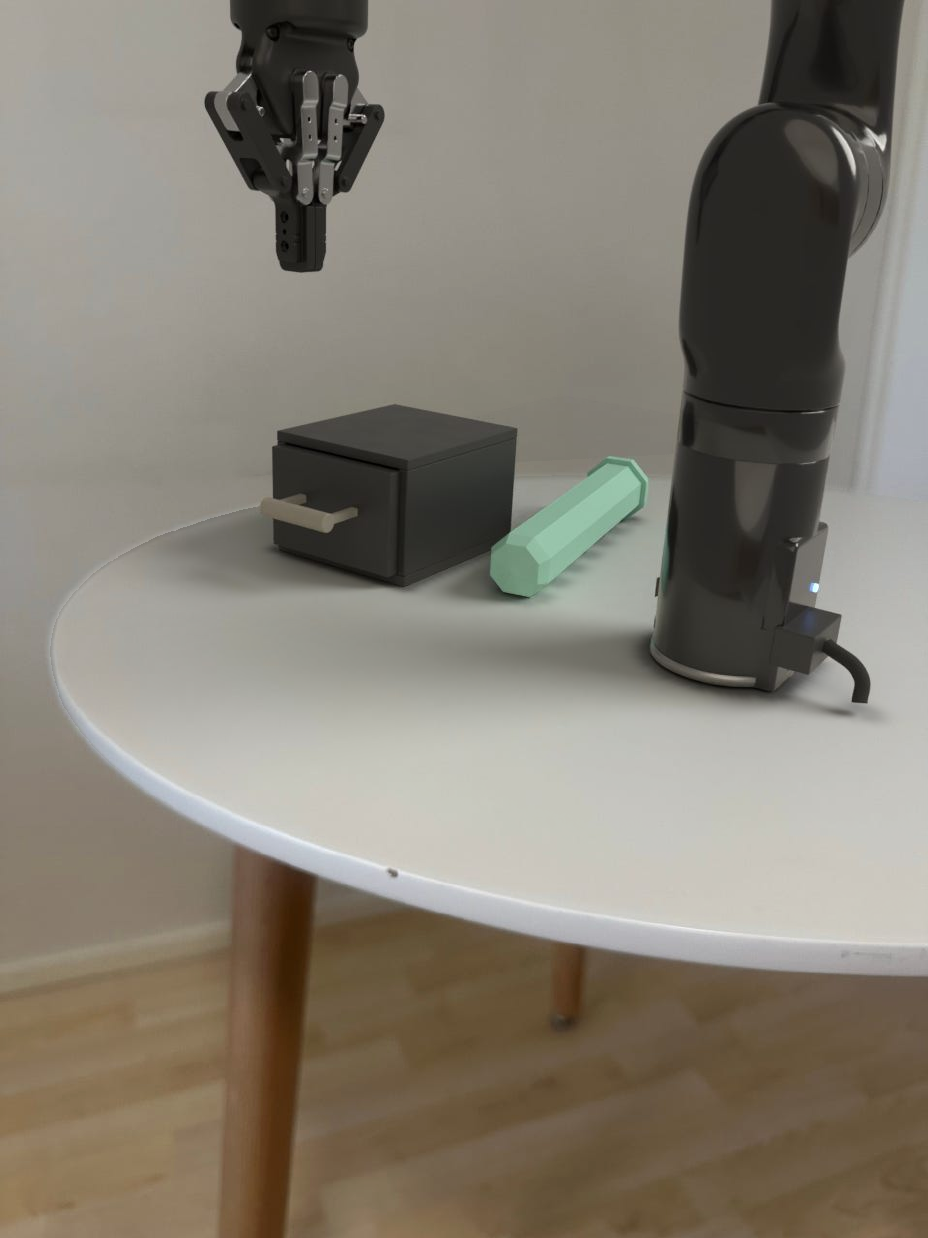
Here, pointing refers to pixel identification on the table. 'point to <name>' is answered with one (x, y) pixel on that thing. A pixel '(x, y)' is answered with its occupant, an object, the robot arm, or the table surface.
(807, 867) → the table surface
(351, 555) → the drawer
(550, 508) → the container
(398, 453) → the small storage cabinet
